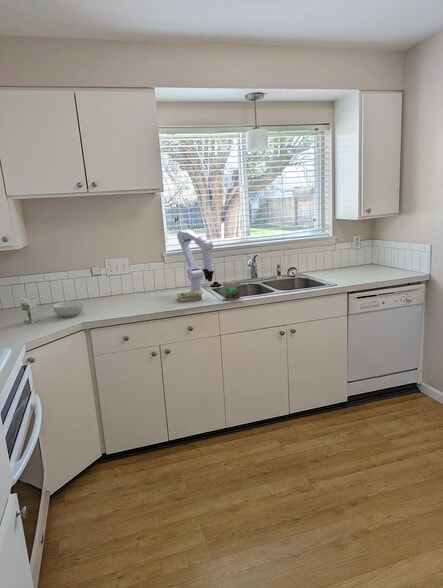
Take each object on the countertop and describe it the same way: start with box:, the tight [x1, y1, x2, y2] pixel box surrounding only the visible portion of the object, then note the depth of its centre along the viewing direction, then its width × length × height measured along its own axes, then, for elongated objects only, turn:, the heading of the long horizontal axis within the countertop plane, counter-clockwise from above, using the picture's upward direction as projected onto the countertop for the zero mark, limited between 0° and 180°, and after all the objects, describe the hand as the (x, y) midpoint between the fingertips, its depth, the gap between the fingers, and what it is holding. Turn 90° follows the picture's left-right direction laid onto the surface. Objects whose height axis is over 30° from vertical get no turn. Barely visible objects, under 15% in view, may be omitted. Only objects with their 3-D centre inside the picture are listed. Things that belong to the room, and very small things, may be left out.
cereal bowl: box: [52, 300, 85, 318], centre depth 235 cm, size 17×17×7 cm
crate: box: [177, 291, 203, 303], centre depth 260 cm, size 10×14×4 cm
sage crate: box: [182, 291, 197, 296], centre depth 260 cm, size 5×8×4 cm, turn 104°
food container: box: [222, 281, 242, 300], centre depth 257 cm, size 12×6×10 cm, turn 62°
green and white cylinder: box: [19, 295, 39, 324], centre depth 224 cm, size 6×6×14 cm
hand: (208, 280), depth 265 cm, fingers open, 7 cm apart
